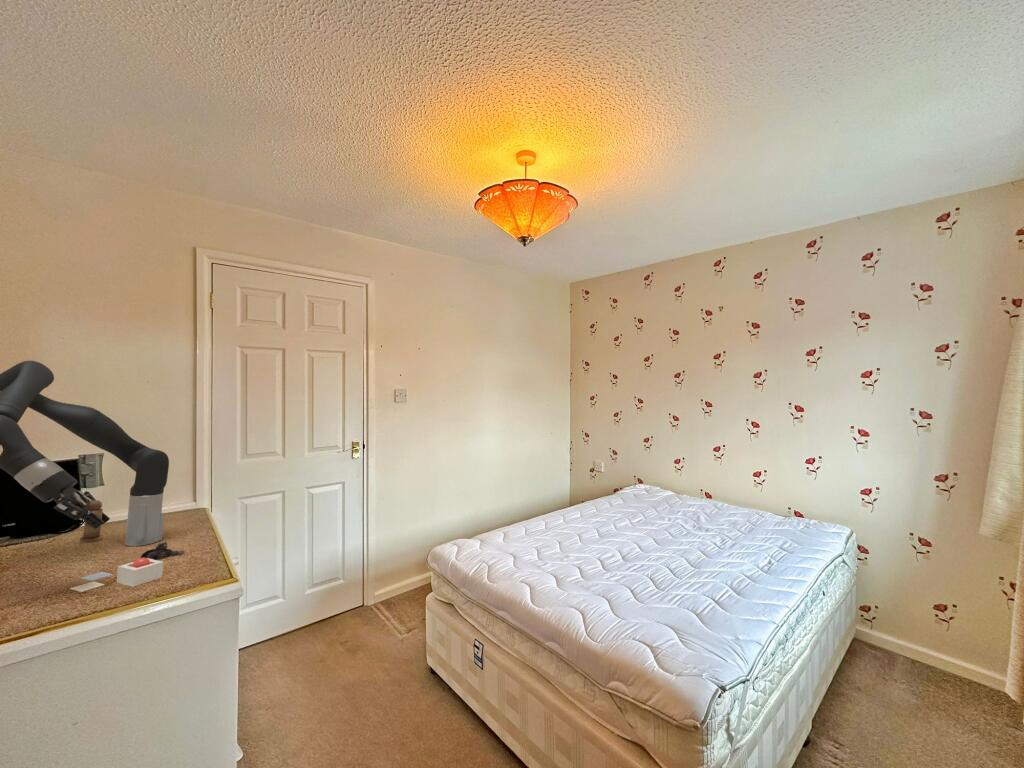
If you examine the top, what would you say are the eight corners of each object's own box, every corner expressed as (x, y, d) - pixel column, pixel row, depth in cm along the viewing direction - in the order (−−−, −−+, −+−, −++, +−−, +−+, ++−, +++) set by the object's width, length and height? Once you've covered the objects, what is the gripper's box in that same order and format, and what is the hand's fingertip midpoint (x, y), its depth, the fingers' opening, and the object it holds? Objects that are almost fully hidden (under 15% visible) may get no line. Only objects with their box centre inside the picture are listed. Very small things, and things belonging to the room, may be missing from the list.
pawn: (96, 537, 115) (100, 498, 115) (106, 539, 113) (110, 499, 114) (75, 542, 111) (79, 501, 111) (85, 544, 109) (90, 502, 110)
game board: (117, 570, 125) (118, 566, 125) (162, 581, 118) (163, 577, 119) (54, 588, 112) (54, 584, 112) (101, 601, 105) (101, 597, 105)
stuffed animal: (143, 569, 124) (137, 538, 131) (137, 591, 127) (131, 560, 134) (191, 558, 134) (183, 530, 140) (184, 579, 137) (177, 551, 143)
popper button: (143, 574, 119) (145, 554, 119) (152, 576, 118) (154, 556, 118) (126, 579, 115) (128, 559, 116) (136, 581, 114) (138, 561, 114)
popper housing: (145, 574, 121) (147, 558, 121) (162, 577, 119) (163, 561, 119) (116, 583, 114) (118, 566, 115) (133, 587, 112) (134, 570, 112)
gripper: (46, 485, 114) (100, 527, 118) (13, 495, 101) (76, 542, 105) (74, 465, 116) (127, 507, 121) (46, 473, 104) (106, 519, 108)
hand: (102, 523), depth 113 cm, fingers closed on pawn, 3 cm apart
